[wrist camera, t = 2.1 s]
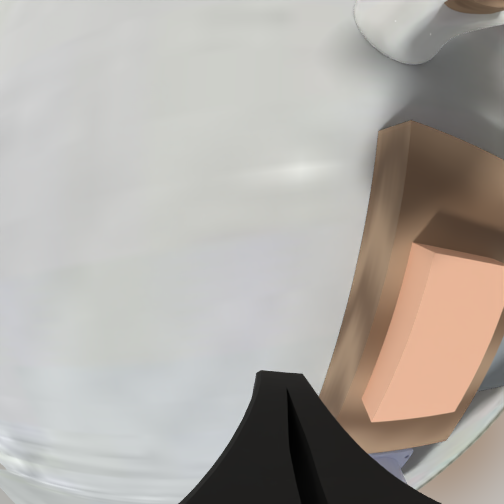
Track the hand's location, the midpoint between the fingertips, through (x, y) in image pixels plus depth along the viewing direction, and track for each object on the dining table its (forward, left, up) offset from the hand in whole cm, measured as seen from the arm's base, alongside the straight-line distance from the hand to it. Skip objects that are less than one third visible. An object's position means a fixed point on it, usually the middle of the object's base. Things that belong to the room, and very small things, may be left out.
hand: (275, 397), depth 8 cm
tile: (0, -9, -5) cm, 10 cm away
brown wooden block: (0, -11, -9) cm, 14 cm away
